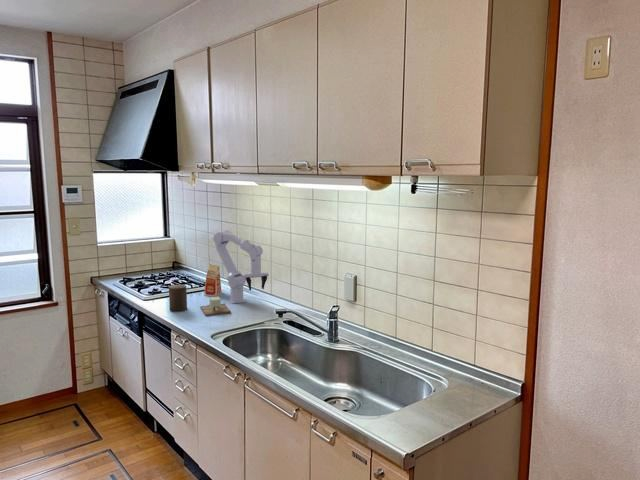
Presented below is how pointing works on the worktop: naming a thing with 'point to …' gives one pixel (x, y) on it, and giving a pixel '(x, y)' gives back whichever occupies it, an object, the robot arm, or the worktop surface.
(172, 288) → the pillar candle
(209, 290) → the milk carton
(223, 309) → the cleat board
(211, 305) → the saddle block
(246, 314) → the worktop surface
